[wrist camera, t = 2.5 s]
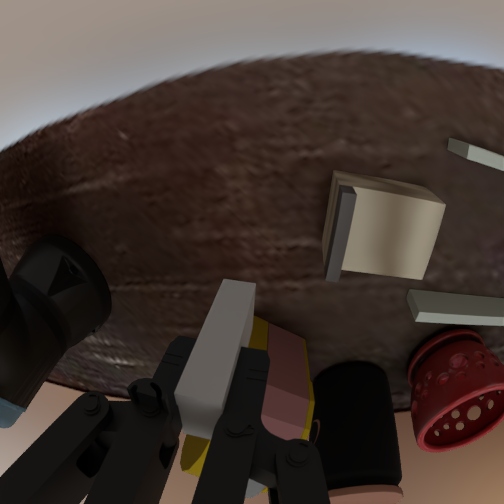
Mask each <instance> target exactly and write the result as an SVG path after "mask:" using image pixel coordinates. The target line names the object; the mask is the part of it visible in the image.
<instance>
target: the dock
mask: <svg viewBox="0 0 504 504" xmlns="http://www.w3.org/2000/svg"><path fill="white" fill-rule="evenodd" d="M447 150H449V151H451V152H453V153H455V154H458V155H460V156H462V157H464V158H466V159H469V160H472V161H476V162H479V163H482V164H485V165H488V166H491V167H494V168H497V169H499V170H502V171H504V156H502V155H500V154H497V153H494V152H492V151H489V150H486V149H483V148H480V147H478V146H475V145H472V144H469V143H466V142H462V141H459V140H456V139H453V138H449V142H448V148H447ZM406 299H407V302H408V304H409V307H410V309H411V312H412V314H413V317H414V319H415V321H416V322H431V323H448V324H469V325H497V326H504V298H495V297H484V296H474V295H464V294H453V293H444V292H434V291H424V290H415V289H409V291H408V294H407V297H406Z"/></svg>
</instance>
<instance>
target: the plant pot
mask: <svg viewBox="0 0 504 504" xmlns="http://www.w3.org/2000/svg"><path fill="white" fill-rule="evenodd" d="M407 378H408V382H409V384H410V386H411V387H412V392H411V417H412V422H413V429H414V434H415V438H416V442H417V445H418V446H419V447H420V448H421V449H422V450H424V451H427V452H444V451H450V450H453V449H457V448H460V447H463V446H465V445H467V444H470V443H472V442H474V441H476V440H477V439H479V438H481V437H482V436H484V435H486V434H487V433H489V432H490V431H491V430H493V429H494V428H495V427H496V426H497V425H498V424H499V423H500V422H501V421H502V420H503V419H504V365H503V364H502V363H501V362H500V360H499V359H498V357H497V356H496V355H495V354H494V353H493V352H492V351H491V350H489V349H488V348H487V347H485V345H484V341H483V339H482V337H481V336H480V335H479V334H478V333H476V332H475V331H472V330H469V329H454V330H449V331H446V332H444V333H441V334H439V335H437V336H435V337H434V338H432V339H431V340H429V341H428V342H427V343H425V344H424V345H423V346H422V347H421V348H420V349H419V350H418V351H417V353H416V354H415V355H414V357H413V358H412V360H411V362H410V365H409V367H408V372H407ZM498 390H501V393H500V394H499V392H498ZM490 391H492V392H490ZM480 394H484V398H483V399H482V400H480V399H479V396H480ZM490 400H493V402H494V405H493V407H492V408H491V409H489V408H488V403H489V401H490ZM474 406H478V407H480V409H481V414H480V417H479V418H478V419H476V420H469V419H468V417H467V413H468V411H469V410H470V409H471V408H472V407H474ZM455 410H457V411H459V412H460V416H459V417H458V418H456V419H454V418H452V416H451V414H452V412H453V411H455ZM441 416H443V417H442V418H440V417H441ZM460 422H461V423H463V424H464V428H463V429H462V430H457V429H456V424H457V423H460ZM445 424H447V425H449V429H447V430H446V429H444V428H443V426H444V425H445ZM432 425H433V426H432ZM431 426H432V427H431ZM434 431H438V432H439V436H436V435H435V433H434Z"/></svg>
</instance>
